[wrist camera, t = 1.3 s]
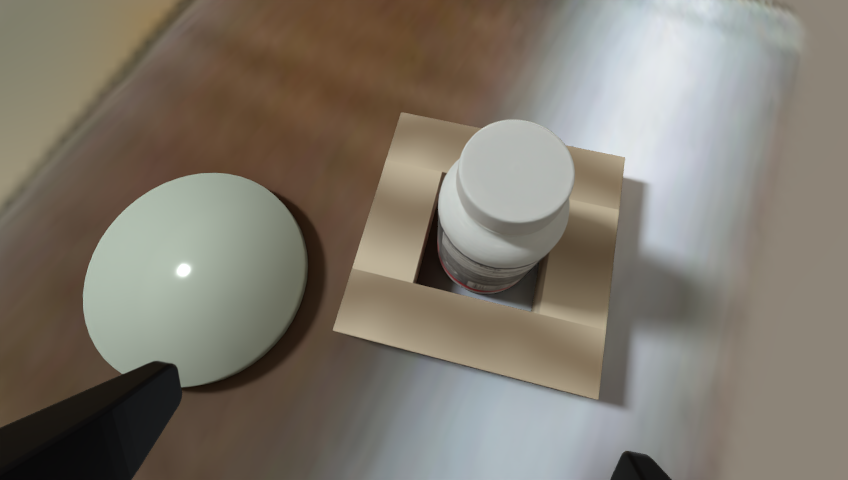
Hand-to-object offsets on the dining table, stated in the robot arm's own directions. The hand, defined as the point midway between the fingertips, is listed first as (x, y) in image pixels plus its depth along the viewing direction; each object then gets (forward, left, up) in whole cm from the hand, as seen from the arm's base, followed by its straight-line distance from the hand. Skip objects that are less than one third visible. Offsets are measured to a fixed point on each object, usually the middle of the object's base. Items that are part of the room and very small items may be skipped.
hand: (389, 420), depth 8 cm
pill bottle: (+4, -7, -13) cm, 16 cm away
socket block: (+4, -7, -13) cm, 16 cm away
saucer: (+12, +7, -13) cm, 19 cm away
